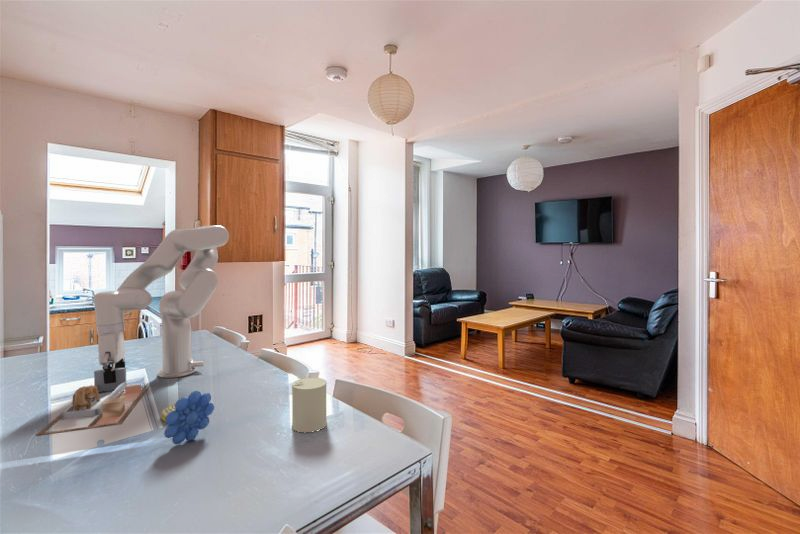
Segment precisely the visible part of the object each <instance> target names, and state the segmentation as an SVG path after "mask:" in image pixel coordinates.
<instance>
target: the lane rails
mask: <svg viewBox="0 0 800 534" xmlns="http://www.w3.org/2000/svg"><path fill="white" fill-rule="evenodd" d="M148 389H149V388H147V387H146V388H143V389H142V392H141V393H140V394H139V396H138V397H137V398H136V399H135V401H134V402H132V404H130V405H131V406H130V407H129V408H128V409H127V411H126V412H125V413H124V415H123V416H122V417H121V418H120V420H119V421H118V422H116V423H108V424H101V425H96V424H97V423H98V421H99V420H100V419H101V418H102V417H103V410H102V411H101V413H100V414H99V415H96V417H95V418H94V419H93V420H92V421H91V422H90V424H88V425H87V426H84V427H76V428H69V429H61V430H60V429H59V430H53V431H47V430H49V429H50V428H51V427H53V426H54V425H55V424H56V423H57V422H58V421H59V420H60V414H59V415H58V416H56V417H55V418H53V420H52V421H50V422H49V423H48V424H47V425H46V426H45V427H43V428H42V429H41V430H40V431H39V432H38V433H36V434H35V436H43V435H50V434H51V435H53V434H59V433H66V432H67V433H69V432H73V431H81V430H91V429H95V428H103V427H110V426H111V427H112V426H118V425H120V426H121V425H122V424H123V422H125V420H126V419H127V418H128V417H129V415H130V414H131V412H132V411H133V409H134V408H135V407H136V406H137V404H138V403H139V402H140V401H141V399H142V398H143V397H144V395H145V394H146V393H147V391H148ZM124 393H125V390H124V391H121V392H119V393H118V395H117V396H116V397H115V398H119V397H121V396H122V395H123V394H124ZM46 431H47V432H46Z"/></svg>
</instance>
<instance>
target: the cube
mask: <svg viewBox="0 0 800 534" xmlns="http://www.w3.org/2000/svg"><path fill="white" fill-rule="evenodd" d="M125 406H126V403H125V397H121V396H120V397H119V398H110V399H107V400H106V401H105V402H104V403H103V404H102V409H103V410H102V411H103V416H102V417H103V418H111V417H119V416H121V415H122V414H123V412H124V411H125Z"/></svg>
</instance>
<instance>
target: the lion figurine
mask: <svg viewBox="0 0 800 534" xmlns="http://www.w3.org/2000/svg"><path fill="white" fill-rule="evenodd" d="M95 399H96V402H101V397H100V396H99V392H98V389H97V387H96V386H94V385H88V386H81V387H79V388H78V389H76V390H75V391H74V393H73V395H72V400H71V401H72V403H71V404H73V406H75V407H74V409H75V410H74V411H78V410H81V409H84V408H86V409H92V402H94V401H95Z"/></svg>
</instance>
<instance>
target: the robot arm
mask: <svg viewBox="0 0 800 534" xmlns="http://www.w3.org/2000/svg"><path fill="white" fill-rule="evenodd" d="M229 239H230V234H229V231H228V230H227V228H226V227H224V226H222V225H218V224H217V225H202V226H198V227H195V228H182V229H181V228H180V229H178V228H177V229H173V230H171V231H169V233H167V235H166V236H165V237H164V238H163V240H162V241H161V242H160V243H159V245H158V246H157V247H156V249H155V250H154V251H153V252H152V254H151V255H150V256H149V257H148V258H147V259H146V260H145V261H144V262H142V264H140V265H139V266H138V267H137V268H136V269H134V270H133V271H132V272H131V273H130V274H128V276H127V277H126V278H125V279H124V281H123V282H122V283H121V284H120V286H119V287H118V288H117V290H116V291H115V290H111V291H103V292H102V291H100V292H97V293H95V294H94V296H93V305H94V315H95V324H96V325H95V328H96V335H97V336H98V343H97V344H98V347H97V348H98V349H97V350H98V364H99V366H102V368H101V369H102V370H103V376H104V384H109V383H115V382H116V370H114V369H115V368H126V361H125V359H126V358H125V355H126V351H125V350H126V349H125V346H126V345H125V338H124V332H125V331H126V324H125V312H128V311H129V312H130V311H141V310H144V309H147V308H148V307H149V306H150V305H151V304H152V300H153V299H152V298H153V297H152V295H151V293H150V292H149V291H148V290H146V289H147V288H148V287H149V286H150V285H151V284H152V283H153V282H155V281H156V280H159V279H160V278H163V277H165V276H167V275H168V274H170V273H171V272H172V271H173V270H174V268H175V267H176V266H177V264H178V263H179V262H180V260H181V258H182V257H183V256H184V255H185V254H186V252H195V254H194V256H193V258H192V260H191V261H190V263H189V264H188V265H187V266H186V267H185V269H184V270H183V272H182V274H181V275H180V276H179V279H178V282H179V283H178V284H179V286H180V288H181V289H183V291H181V290H172V291H168V292H166V293H165V294H163V295H162V296H161V298H160V300H159V305H158V306H159V307H158V309H159V312H160V318H161V327H162V328H161V331H162V332H161V338H162V339H161V341H162V342H161V343H162V345H161V346H162V351H161V352H162V369H161V370H159V371H158V372H157V376H158V377H159V378H163V379H164V378H165V379H171V378H173V379H174V378H181V377H185V376H189V375H191V374H194V373H195V372H197V368H202V367H205V361H202V360H198V361H197V360H194V358H193V357H192V325H191V319H190V318H194V317H196V316H197V315H199V314H200V313H201V312H202V310H203V309H204V307H205V306H206V305H207V303H208V301H210V299H211V297H212V296H213V294H214V292H215V291H216V289H217V287H218V283H219V279H218V275H217V273H216V272H215V270H214V269H215V267H216V265H217V264H218V260H219V254H218V248H220V247H223V246H225V245H226V244H227V243H228V241H229Z"/></svg>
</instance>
